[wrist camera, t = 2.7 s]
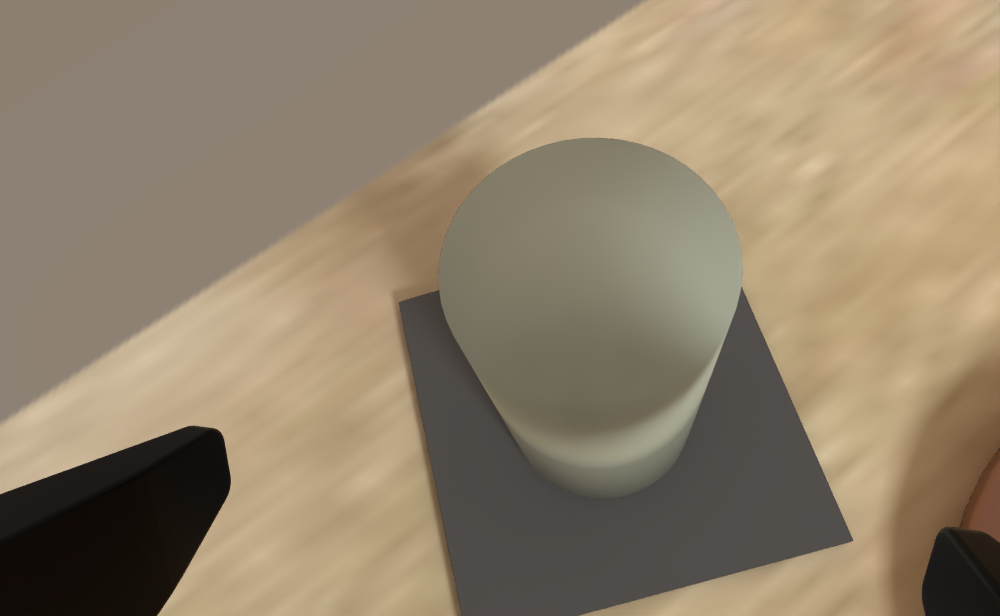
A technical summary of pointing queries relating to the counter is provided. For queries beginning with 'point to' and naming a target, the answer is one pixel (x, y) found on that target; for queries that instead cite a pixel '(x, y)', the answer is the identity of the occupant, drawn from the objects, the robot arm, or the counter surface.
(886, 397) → the counter surface
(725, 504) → the rubber mat
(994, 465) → the terracotta plate
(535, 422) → the sage canister
